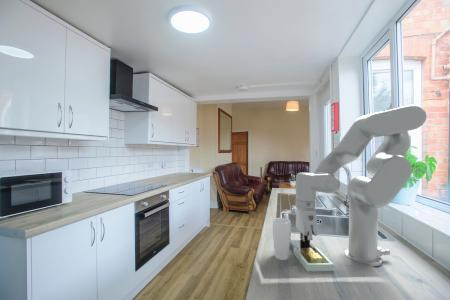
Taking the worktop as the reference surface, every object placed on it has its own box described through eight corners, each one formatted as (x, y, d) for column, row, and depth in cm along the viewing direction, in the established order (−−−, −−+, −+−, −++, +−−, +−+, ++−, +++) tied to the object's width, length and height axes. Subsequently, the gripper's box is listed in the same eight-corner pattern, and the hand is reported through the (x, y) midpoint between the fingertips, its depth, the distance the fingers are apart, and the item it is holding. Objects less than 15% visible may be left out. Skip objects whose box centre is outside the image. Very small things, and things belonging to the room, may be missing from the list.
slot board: (304, 242, 102) (304, 235, 101) (315, 255, 90) (315, 247, 89) (285, 243, 101) (285, 235, 101) (294, 256, 89) (294, 248, 89)
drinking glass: (291, 264, 82) (291, 224, 82) (272, 262, 84) (272, 222, 84) (289, 256, 89) (290, 218, 89) (272, 254, 90) (272, 217, 90)
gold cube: (310, 258, 87) (311, 247, 87) (315, 263, 83) (315, 252, 83) (300, 258, 87) (300, 247, 87) (304, 263, 83) (304, 252, 83)
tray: (316, 255, 90) (317, 247, 89) (334, 274, 77) (334, 264, 77) (293, 256, 89) (293, 247, 89) (306, 274, 76) (306, 264, 76)
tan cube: (317, 263, 83) (317, 252, 83) (322, 269, 79) (322, 258, 79) (306, 263, 83) (306, 252, 83) (310, 269, 79) (310, 258, 79)
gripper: (324, 209, 82) (323, 259, 82) (306, 199, 97) (306, 242, 97) (303, 209, 82) (303, 259, 82) (289, 199, 97) (289, 242, 97)
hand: (304, 250), depth 90 cm, fingers closed
